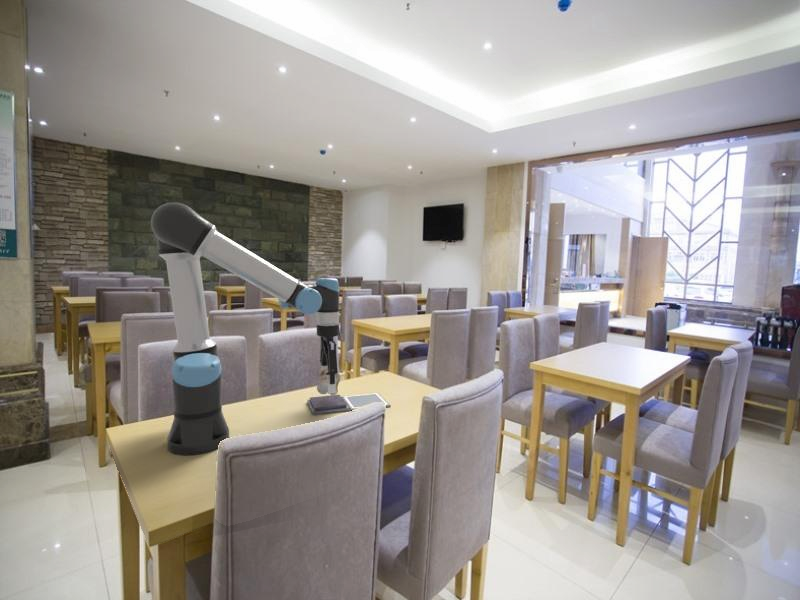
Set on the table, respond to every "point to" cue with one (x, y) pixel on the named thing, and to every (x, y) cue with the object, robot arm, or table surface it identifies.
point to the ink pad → (327, 404)
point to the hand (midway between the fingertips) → (328, 388)
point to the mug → (323, 382)
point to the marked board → (363, 400)
